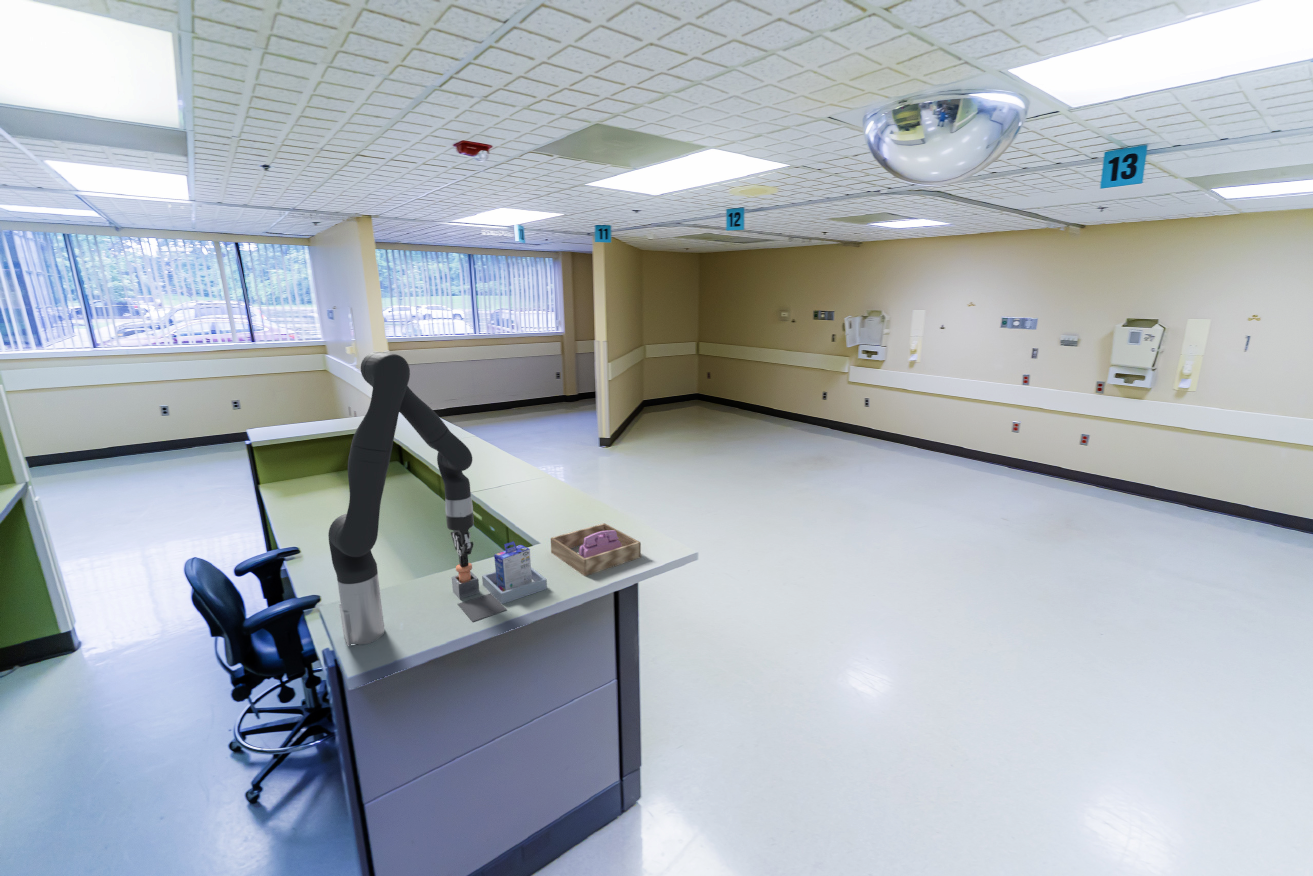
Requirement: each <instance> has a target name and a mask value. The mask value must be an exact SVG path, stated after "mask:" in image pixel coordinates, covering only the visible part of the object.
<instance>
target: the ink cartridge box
mask: <svg viewBox="0 0 1313 876" xmlns="http://www.w3.org/2000/svg"><path fill="white" fill-rule="evenodd" d="M503 546H504V547H503V548H504V550H503V551H500V552H498V553H495V554H494V555H493V557H494V558H493V559H494V565H495V566H494V567H495V572H496V579H497V582H496V586H497V587H498V588H499V589H500V590H501V591H502V592H504V591H507V590H510V589H513V588H516V587H519V586H523V585H526V584H529V583H532V582H533V580H532V575H531V567H532V563H531V561H532V559H531V549H530V548H529V547H526V546H524V545H522V544H519V545H516V543H515V541H511V542H507V543H504V544H503ZM509 546H512V547H509Z"/></svg>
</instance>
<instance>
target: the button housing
mask: <svg viewBox="0 0 1313 876" xmlns="http://www.w3.org/2000/svg"><path fill="white" fill-rule="evenodd" d="M470 573H471V580H468V581H464V582H461V583H460V582H459V574H458V575H454V576H451V585H452V586H451V587H452V593H454V595H455V596H456V597H457V599H458V600H462V599H466V598H469V597H473V596H474V595H479V594H480V582H479V580H480V579H479V577H477V576H476V575H475V573H473V572H472V571H470Z"/></svg>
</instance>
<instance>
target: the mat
mask: <svg viewBox="0 0 1313 876" xmlns="http://www.w3.org/2000/svg"><path fill="white" fill-rule="evenodd" d="M457 606H458V607H459V608H460V609H461V610H462V612H463V613H464V614H465V615H466V616H467V617H468V618H469V620H470V621H471V623H473V622H475V623H476V622H478V621H480V620H483V619H487V618H488V617H492V616H494V615H497V614H501V613H504V612H506V611H508V609H507V608H506V606H504V604H501V603H500V602H499V601H498V600H497V599H496V598H495V597H494V596H493V595H492V594H491V593H490V592H489V593H488V594H483V595H480V596H477V597H475V598H472V599H468V600H465V601H462V602H458V603H457Z"/></svg>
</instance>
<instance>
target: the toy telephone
mask: <svg viewBox="0 0 1313 876" xmlns="http://www.w3.org/2000/svg"><path fill="white" fill-rule="evenodd" d="M617 539H618V537H617V533H616V531H615V530H610V531H600V532H597V533H594V534H592V535H589V536H587V537H585V538H584V543H583V545H579V549H578V554H579V555H580V556H582V557H584V558H588V557H591V556H594V555H597V554H601V553H604V552H607V551H610V550H614V549H617V548H620V547H622V545H621V542H620V541H618V540H617Z"/></svg>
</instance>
